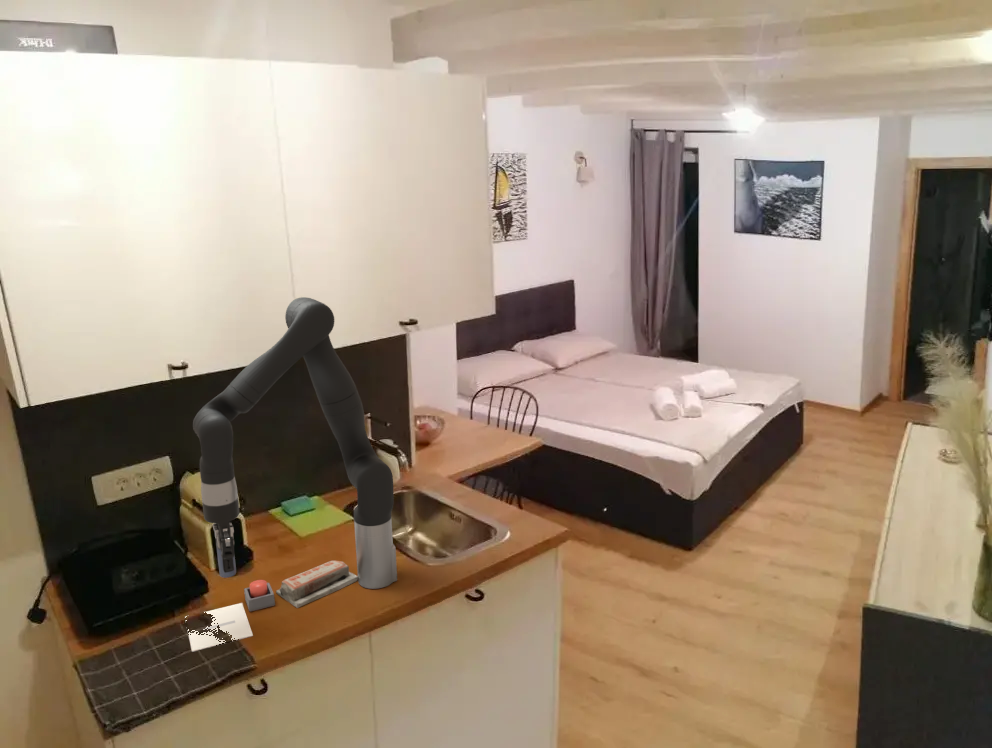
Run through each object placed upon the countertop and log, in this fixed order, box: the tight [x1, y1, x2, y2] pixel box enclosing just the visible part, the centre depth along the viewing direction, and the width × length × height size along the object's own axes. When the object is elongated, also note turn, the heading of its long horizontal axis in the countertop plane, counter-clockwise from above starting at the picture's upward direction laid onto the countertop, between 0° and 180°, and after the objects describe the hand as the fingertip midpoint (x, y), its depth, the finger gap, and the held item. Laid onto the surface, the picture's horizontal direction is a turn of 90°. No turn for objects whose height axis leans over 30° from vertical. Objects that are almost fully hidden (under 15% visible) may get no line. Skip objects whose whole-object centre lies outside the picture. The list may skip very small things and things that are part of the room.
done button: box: [249, 579, 268, 598], centre depth 190 cm, size 4×4×3 cm
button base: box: [243, 582, 276, 613], centre depth 190 cm, size 6×6×3 cm
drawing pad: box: [184, 602, 254, 653], centre depth 181 cm, size 13×15×1 cm
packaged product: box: [275, 559, 358, 609], centre depth 197 cm, size 18×5×10 cm
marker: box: [215, 537, 237, 578], centre depth 178 cm, size 4×4×9 cm
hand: (227, 566), depth 179 cm, fingers closed on marker, 3 cm apart
